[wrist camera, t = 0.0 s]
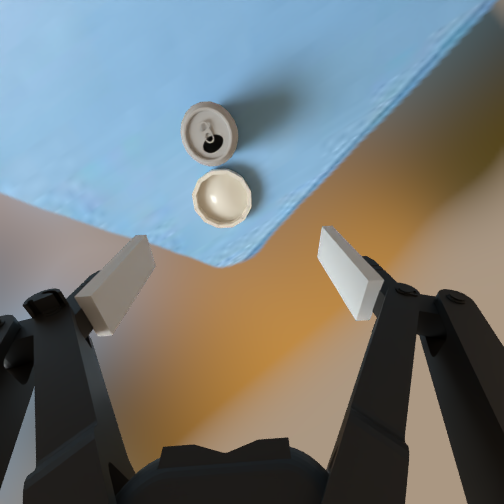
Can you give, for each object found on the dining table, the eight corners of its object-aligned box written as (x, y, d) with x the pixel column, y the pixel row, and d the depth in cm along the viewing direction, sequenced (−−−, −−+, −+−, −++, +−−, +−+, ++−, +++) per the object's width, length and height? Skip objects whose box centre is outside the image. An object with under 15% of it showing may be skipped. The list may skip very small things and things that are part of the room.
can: (211, 166, 39) (201, 178, 29) (186, 125, 36) (163, 122, 25) (246, 144, 38) (248, 148, 27) (223, 98, 34) (216, 84, 24)
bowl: (190, 169, 39) (188, 171, 37) (249, 167, 39) (250, 169, 37) (200, 224, 45) (198, 228, 43) (251, 221, 45) (252, 226, 43)
